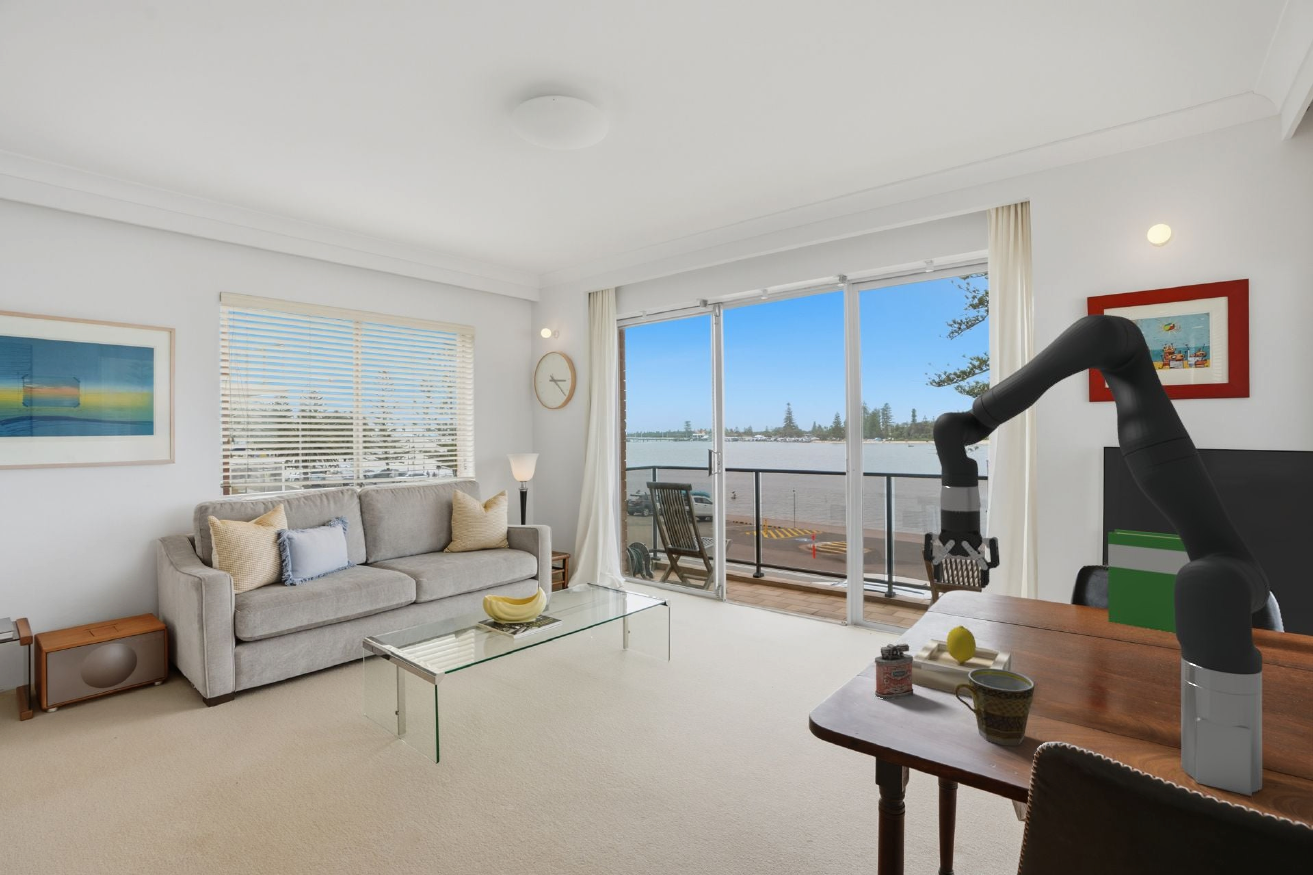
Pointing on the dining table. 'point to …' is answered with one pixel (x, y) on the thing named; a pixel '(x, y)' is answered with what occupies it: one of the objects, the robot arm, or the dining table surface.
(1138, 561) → the green striped box
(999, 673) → the ceramic cup
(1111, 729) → the dining table surface
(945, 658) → the birch base
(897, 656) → the lighter
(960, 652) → the lemon
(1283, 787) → the dining table surface
